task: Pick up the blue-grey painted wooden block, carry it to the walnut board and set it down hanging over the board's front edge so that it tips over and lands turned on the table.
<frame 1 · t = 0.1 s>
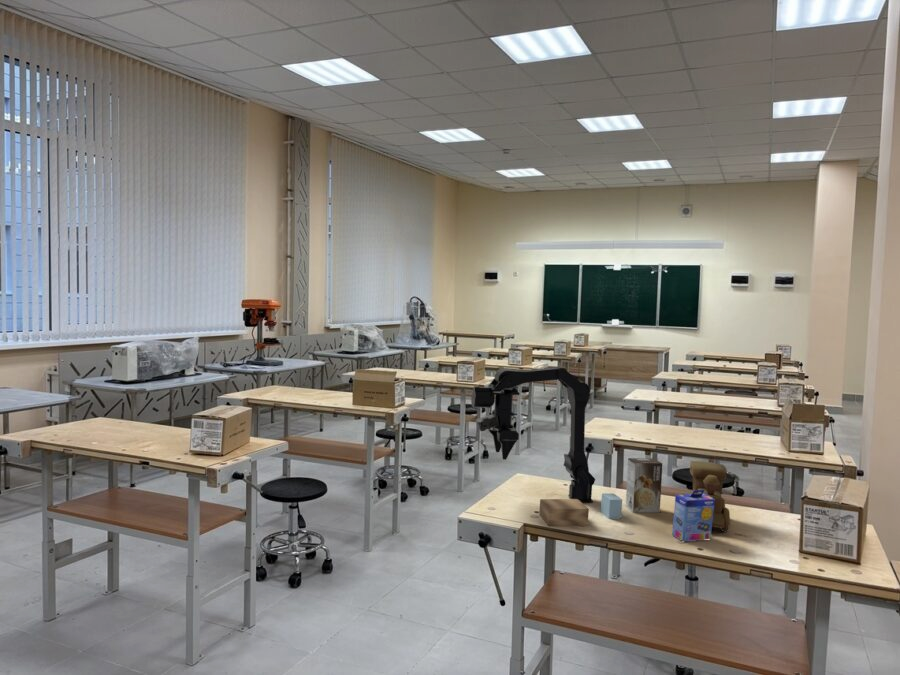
hand: (500, 455, 201), 15 cm above the table, tool pointing down, fingers open, 9 cm apart
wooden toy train: (706, 523, 191), on the table
board: (563, 520, 186), on the table
ink cartridge box: (691, 538, 177), on the table
block: (610, 515, 193), on the table
coffee box: (642, 510, 200), on the table
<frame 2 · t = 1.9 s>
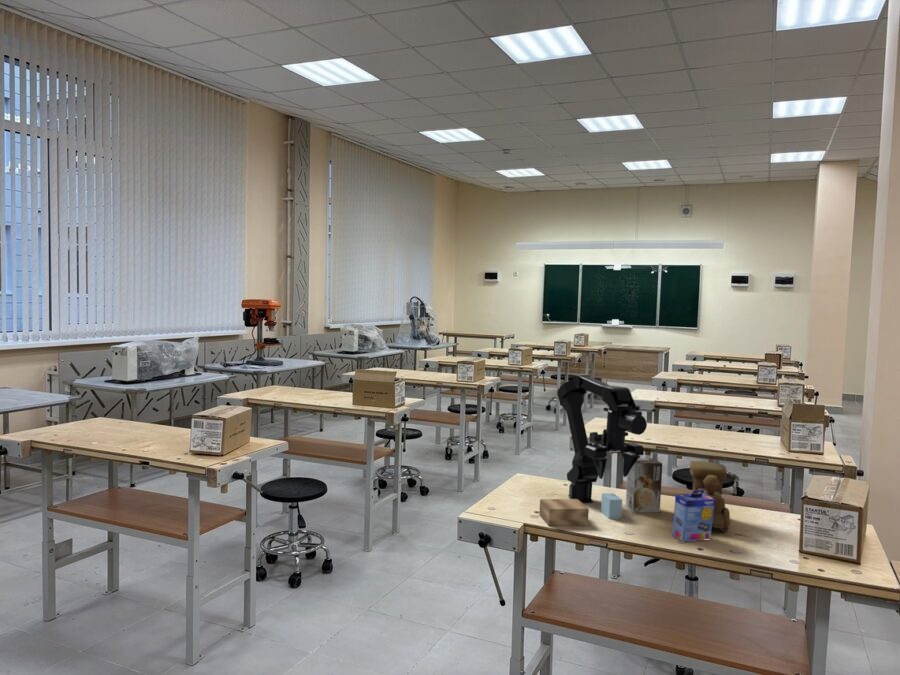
hand: (612, 477, 192), 12 cm above the table, tool pointing down, fingers open, 9 cm apart
nothing on the table moved.
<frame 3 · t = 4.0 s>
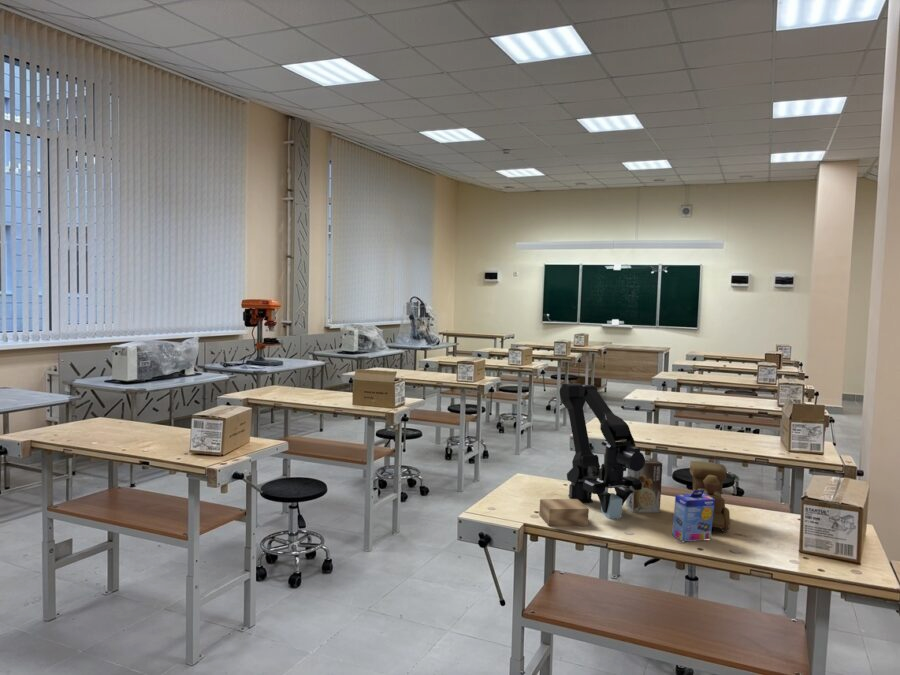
hand: (610, 511, 193), 1 cm above the table, tool pointing down, fingers closed on block, 5 cm apart
block: (610, 515, 193), on the table, touching gripper
everything else where it was.
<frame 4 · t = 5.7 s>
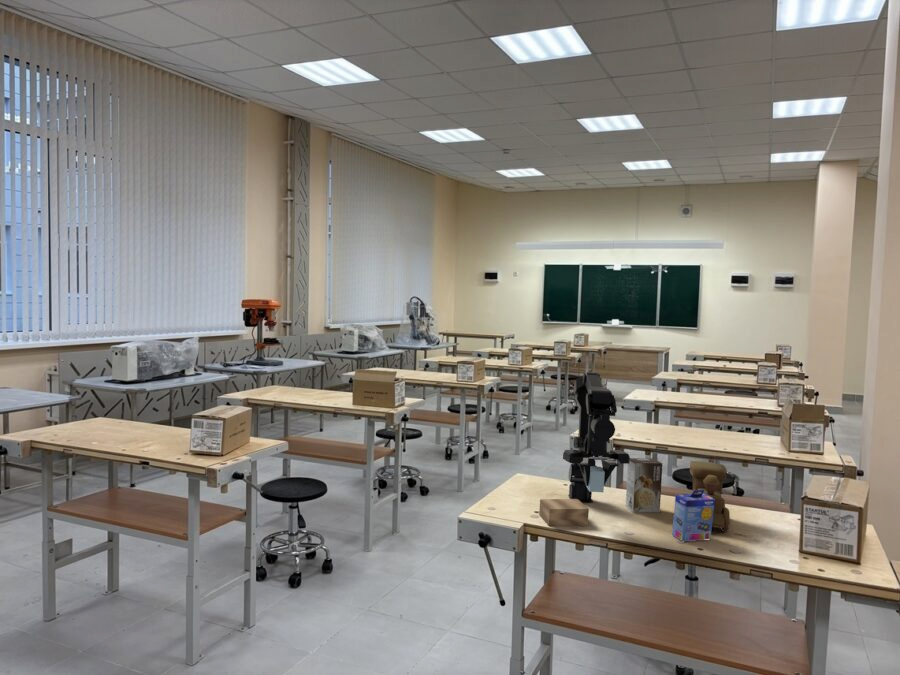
hand: (594, 485, 182), 12 cm above the table, tool pointing down, fingers closed on block, 5 cm apart
block: (594, 489, 182), point 11 cm above the table, touching gripper
everything else where it was.
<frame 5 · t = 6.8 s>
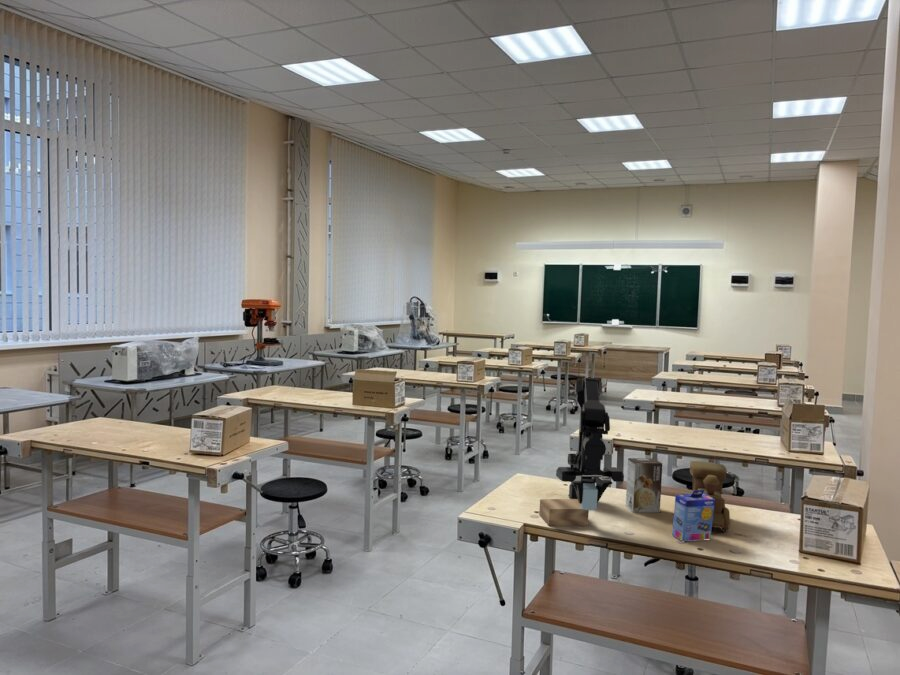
hand: (588, 503, 181), 7 cm above the table, tool pointing down, fingers closed on block, 5 cm apart
block: (587, 506, 181), point 6 cm above the table, touching gripper
everything else where it was.
when the fingers open (7 cm above the table, at t = 7.4 s): block drops 3 cm and tips over, point 3 cm above the table.
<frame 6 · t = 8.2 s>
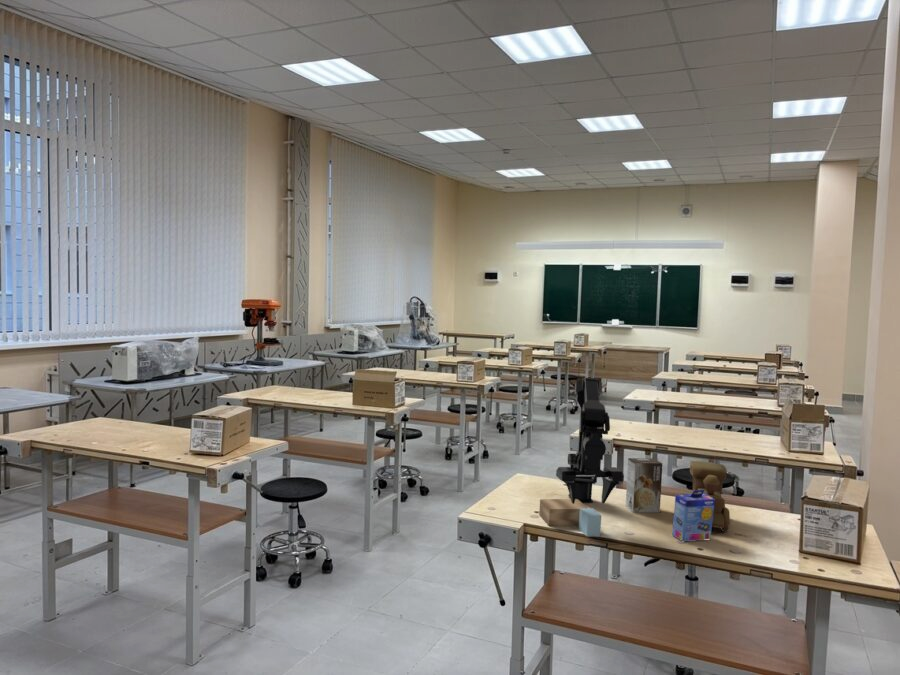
hand: (588, 503, 181), 7 cm above the table, tool pointing down, fingers open, 9 cm apart
block: (585, 518, 180), point 3 cm above the table, tilted 90°
everything else where it was.
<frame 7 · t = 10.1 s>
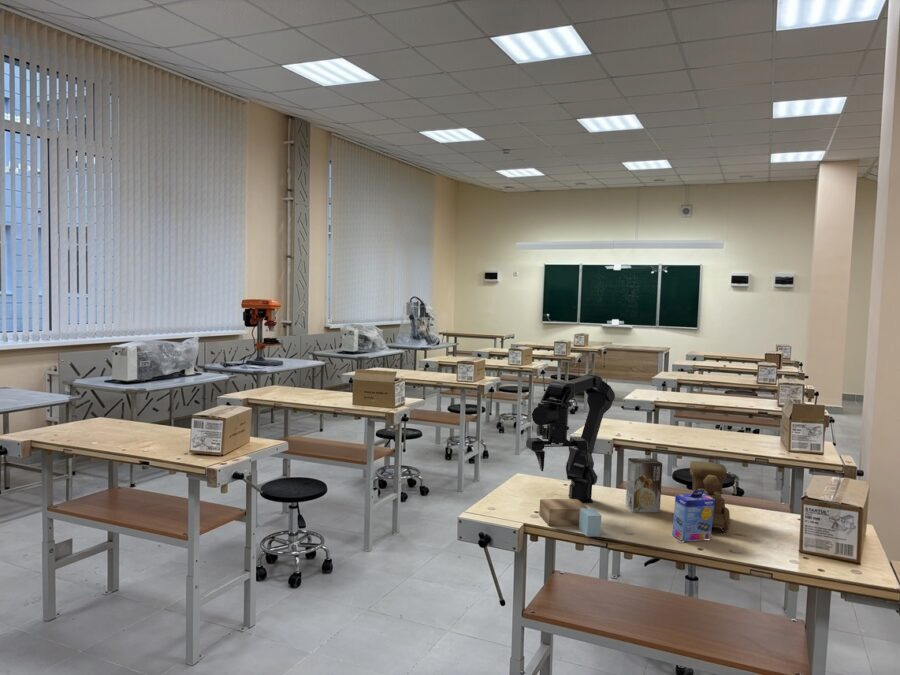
hand: (555, 470, 195), 12 cm above the table, tool pointing down, fingers open, 9 cm apart
nothing on the table moved.
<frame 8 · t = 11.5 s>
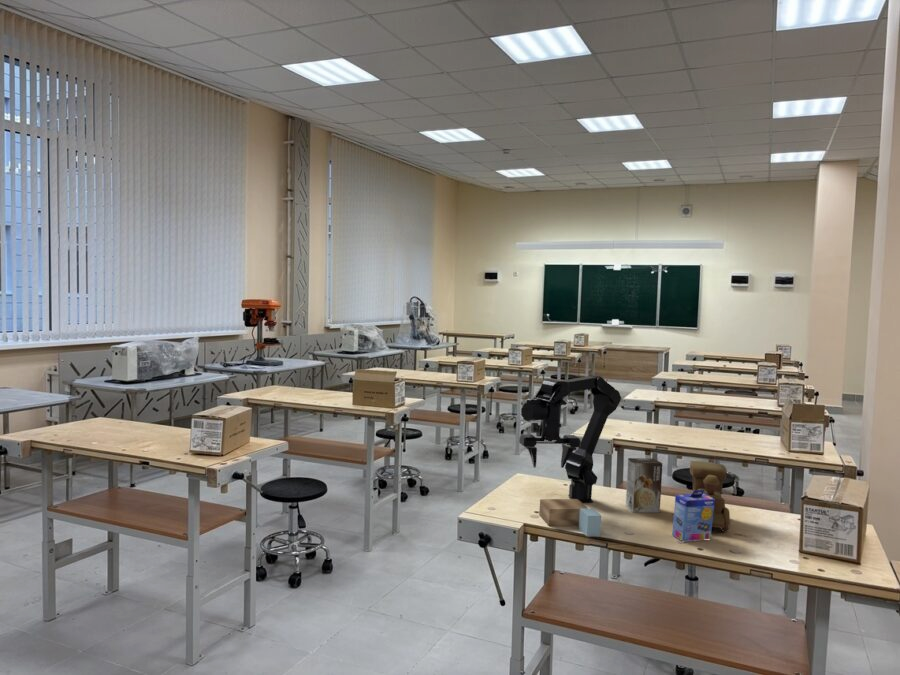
hand: (548, 467, 198), 13 cm above the table, tool pointing down, fingers open, 9 cm apart
nothing on the table moved.
at the end: block tilted 90°; block inside the target area (3.9 cm from its centre), point 2.9 cm above the table; the gripper is holding nothing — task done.
